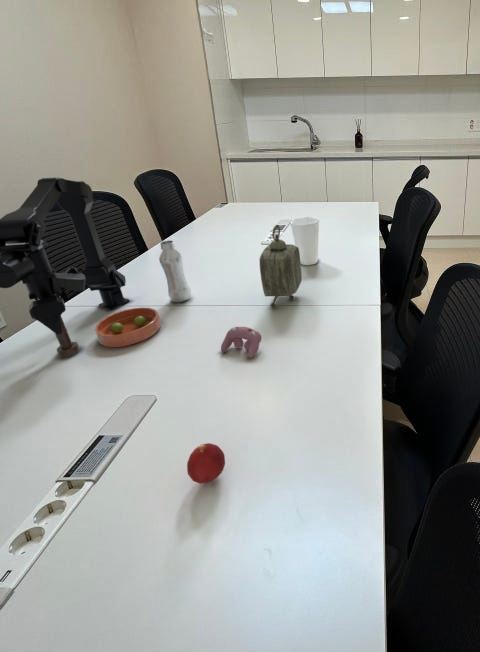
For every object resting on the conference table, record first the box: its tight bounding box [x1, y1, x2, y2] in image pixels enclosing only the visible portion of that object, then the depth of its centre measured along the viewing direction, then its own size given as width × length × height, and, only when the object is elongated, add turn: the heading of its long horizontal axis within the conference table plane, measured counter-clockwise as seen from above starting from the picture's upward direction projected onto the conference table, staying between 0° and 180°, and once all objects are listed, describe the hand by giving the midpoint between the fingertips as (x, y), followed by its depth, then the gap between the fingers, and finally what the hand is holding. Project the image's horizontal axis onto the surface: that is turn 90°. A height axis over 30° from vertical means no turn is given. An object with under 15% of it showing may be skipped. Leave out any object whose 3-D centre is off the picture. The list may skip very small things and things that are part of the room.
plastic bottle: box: [158, 240, 192, 303], centre depth 123 cm, size 6×7×20 cm
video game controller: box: [220, 326, 262, 359], centre depth 100 cm, size 10×5×7 cm, turn 71°
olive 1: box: [110, 323, 123, 334], centre depth 108 cm, size 3×3×3 cm
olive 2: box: [134, 316, 146, 327], centre depth 111 cm, size 3×3×3 cm
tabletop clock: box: [259, 224, 303, 309], centre depth 120 cm, size 14×9×25 cm, turn 178°
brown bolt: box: [54, 314, 81, 359], centre depth 98 cm, size 4×4×14 cm
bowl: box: [94, 307, 162, 348], centre depth 108 cm, size 15×15×4 cm
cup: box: [289, 216, 320, 266], centre depth 151 cm, size 11×10×17 cm
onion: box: [186, 442, 226, 484], centre depth 64 cm, size 6×6×8 cm
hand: (59, 325), depth 98 cm, fingers open, 9 cm apart
